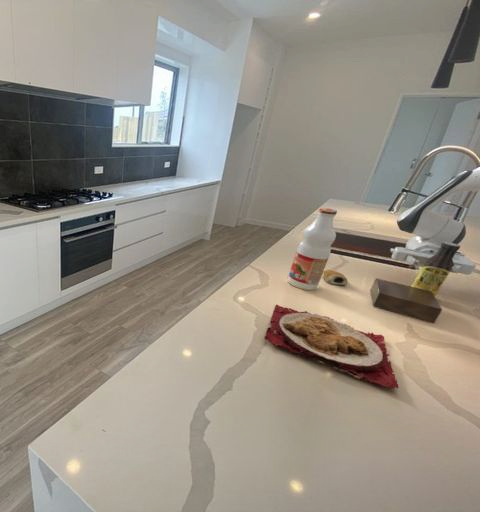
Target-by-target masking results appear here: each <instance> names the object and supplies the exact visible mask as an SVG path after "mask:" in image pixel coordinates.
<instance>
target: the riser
mask: <svg viewBox="0 0 480 512" xmlns="http://www.w3.org/2000/svg"><path fill="white" fill-rule="evenodd" d="M411 286H412V285H406V284H403V283H398V282H393V281H389V280H386V279H381V278H376V277H375V279H374V281H373V284H372V285H371V288H370V291H369V292H370V297H371V303H372V307H374V308H377V309H380V310H385V311H388V312H391V313H396V314H399V315H403V316H406V317H410V318H414V319H417V320H420V321H424V322H427V323H431V324H435V323H436V321H437V319H438V318H439V316H440V314H441V313H442V310H443V308H442V306H441V305H440V303H439V301H438V299H437V298H436V297H435V296H436V295H435V296H434V295H433V293H432V291H428V290H423V289H419V288H415V287H411Z"/></svg>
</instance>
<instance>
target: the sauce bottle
mask: <svg viewBox="0 0 480 512" xmlns="http://www.w3.org/2000/svg"><path fill="white" fill-rule="evenodd" d="M460 248H461V245H460V244H454V243H450V242H442V244H441V247H440V249H439V251H438V252H437V254H436V255H434V256H432V257H431V258H429V259H428V260H427V261H426V263H425V265H424V266H423V267H421V269H420V271H419V272H418V273H417V275H416V278H415V279H414V280H413V282H412V284H411V285H410V286H411V287H415V288H419V289H423V290H428V291H432V293H433V295H434V296H436V295H437V294H438V292H439V290H440V289H441V288H442V286H443V284H444V282H445V281H446V279H447V278H448V276H449V275H450V273H451V272H450V271H451V269H452V267H453V265H454V264H453V260H452V258H453V257H454V255H455V253H456V252H458V251H459V250H460Z"/></svg>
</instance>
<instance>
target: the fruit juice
mask: <svg viewBox="0 0 480 512" xmlns="http://www.w3.org/2000/svg"><path fill="white" fill-rule="evenodd" d="M337 213H338V210H336V209H334V208H329V207H319V208H318V210H317V216H316V218H315V219H314V221H313V222H312V223H311V224H309V225H308V226H307V227H305V228H304V230H303V232H302V240H301V241H300V242H299V243H298V245H297V249H296V252H295V255H294V257H293V261H292V264H291V267H290V270H289V273H288V275H287V282H288V283H289V284H290V285H291V286H293V287H295V288H298V289H301V290H305V291H306V290H307V291H314V290H316V289H317V288H318V286H319V284H320V282H321V279H322V276H323V273H324V271H325V268H326V266H327V263H328V261H329V258H330V255H331V251H332V248H331V247H332V245H333V243H334V242H335V241H336V238H337V232H336V230H335V228H334V217H336V215H337Z"/></svg>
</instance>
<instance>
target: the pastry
mask: <svg viewBox="0 0 480 512" xmlns="http://www.w3.org/2000/svg"><path fill="white" fill-rule="evenodd" d="M322 276H323V279H324V280H325V283H327V284H330V285H336V286H337V285H338V286H339V285H340V286H345V285H347V284H348V283H349V281H348V278H347V277H346V276H345V275H344V274H343V273H341V272H339V271H334V270H332V269H326V270H324V271H323V274H322Z"/></svg>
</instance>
